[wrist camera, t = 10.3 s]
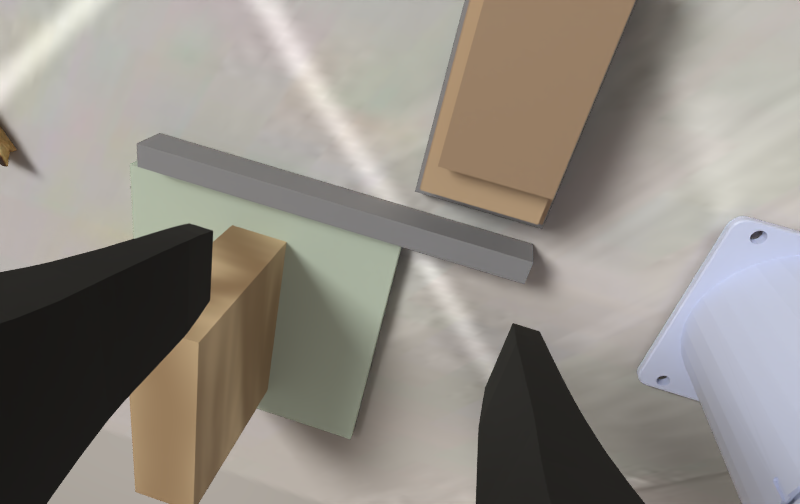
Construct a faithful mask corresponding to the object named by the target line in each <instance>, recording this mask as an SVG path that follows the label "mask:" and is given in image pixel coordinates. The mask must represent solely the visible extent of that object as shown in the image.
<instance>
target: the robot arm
mask: <svg viewBox="0 0 800 504" xmlns="http://www.w3.org/2000/svg"><path fill="white" fill-rule="evenodd" d="M756 231H763V233H762V235H761V236H760V237H759V238H756V239H750V236H751V235H752V234H753V233H754V232H756ZM212 250H213V230H210V229H206V228H203V227H200V226H197V225H193V224H190V223H188V224H183V225H179V226H175V227H172V228H168V229H165V230H161V231H158V232H155V233H151V234H148V235H145V236H141V237H138V238H135V239H132V240H128V241H125V242H122V243H118V244H115V245H112V246H108V247H105V248H102V249H98V250H94V251H90V252H87V253H83V254H79V255H75V256H72V257H68V258H64V259H60V260H56V261H53V262H48V263H44V264H40V265H35V266H30V267H26V268H20V269H15V270H10V271H4V272H0V504H47V502H48V501H49V499H50V498H51V497H52V495H53V494H54V492H55V491H56V490H57V488H58V487H59V485H60V484H61V483H62V481H63V480H64V478H65V477H66V476H67V474H68V473H69V472H70V470H71V469H72V467H73V466H74V465H75V463H76V462H77V460H78V459H79V457H80V456H81V455H82V454H83V452H84V451H85V450H86V448H87V447H88V446H89V444H90V443H91V442H92V440H93V439H94V438H95V436H96V435H97V434H98V432H99V431H100V430H101V429H102V427H103V426H104V425H105V423H106V422H107V421H108V419H109V418H110V417H111V416H112V415H113V414H114V412H115V411H116V410H117V409H118V408H119V407H120V405H121V404H122V403H123V402H124V401H125V400H126V399H127V398H128V397H129V396H130V395H131V393H132V392H133V391H134V390H135V389H136V388H137V387H138V386H139V385H140V384H141V383H142V382H143V381H144V380H145V379H146V378H147V376H148V375H149V374H150V373H151V372H152V371H153V370H154V369H155V368H156V367H157V366H158V365H159V364H160V363H161V362H162V360H163V359H164V358H165V357H166V356H167V355H168V354H169V353H170V352H171V351H172V350H173V349H174V347H175V346H176V345H177V344H178V343H179V342H180V341H181V340H182V339H183V338H184V337H185V335H186V334H187V333H188V332H189V330H190V329H191V328H192V326H193V325H194V323H195V322H196V321H197V319H198V318H199V316H200V315H201V313H202V312H203V310H204V309H205V307H206V306H207V305H208V303H209V302H210V295H211V273H212ZM637 374H638V378H639V380H640V381H641V383H643V384H645V385H648V386H651V387H655V388H658V389H661V390H664V391H667V392H671V393H674V394H677V395H680V396H683V397H687V398H690V399H693V400H696V401H699V402H700V404H701V406H702V409H703V411H704V414H705V416H706V418H707V421H708V423H709V426H710V428H711V430H712V433H713V435H714V438H715V440H716V443H717V445H718V447H719V450H720V452H721V455H722V457H723V460H724V462H725V464H726V467H727V469H728V472H729V474H730V476H731V479H732V481H733V484H734V486H735V489H736V491H737V493H738V496H739V498H740V501H741V503H742V504H800V231H797V230H793V229H790V228H786V227H783V226H779V225H776V224H772V223H769V222H765V221H762V220H758V219H755V218H751V217H746V216H741V217H736V218H734V219H732V220H731V221H730V222H729V223H728V224H727V225H726V227H725V228H724V230H723V231H722V233H721V235H720V236H719V238H718V240H717V241H716V243H715V244H714V246H713V248H712V249H711V251H710V252H709V254H708V256H707V257H706V259H705V261H704V262H703V264H702V265H701V267H700V269H699V270H698V272H697V273H696V275H695V277H694V278H693V280H692V282H691V283H690V285H689V286H688V288H687V290H686V291H685V293H684V294H683V296H682V298H681V299H680V301H679V302H678V304H677V306H676V307H675V309H674V311H673V312H672V314H671V315H670V317H669V319H668V320H667V322H666V323H665V325H664V327H663V328H662V330H661V332H660V333H659V335H658V336H657V338H656V340H655V341H654V343H653V344H652V346H651V348H650V349H649V351H648V352H647V354H646V356H645V357H644V359H643V361H642V362H641V364H640V365H639V367H638V369H637ZM660 376H667V377H666V378H664V379H657V378H658V377H660ZM476 504H645V503H644V502H643V500H642V499H641V498H640V497H639V495H638V494H637V493H636V492H635V490H634V489H633V488H632V487H631V485H630V484H629V483H628V481H627V480H626V479H625V477H624V476H623V475H622V473H621V472H620V471H619V469H618V468H617V466H616V465H615V464H614V462H613V461H612V460H611V458H610V457H609V456H608V454H607V453H606V451H605V450H604V448H603V447H602V445H601V444H600V442H599V441H598V439H597V438H596V436H595V434H594V433H593V431H592V430H591V428H590V426H589V425H588V423H587V422H586V420H585V418H584V417H583V415H582V413H581V412H580V410H579V408H578V406H577V405H576V403H575V401H574V399H573V397H572V395H571V394H570V392H569V390H568V388H567V386H566V384H565V382H564V380H563V378H562V376H561V374H560V372H559V370H558V368H557V366H556V364H555V362H554V360H553V358H552V356H551V354H550V352H549V350H548V348H547V346H546V344H545V342H544V340H543V338H542V336H541V334H540V332H539V331H536V330H533V329H530V328H526V327H523V326H520V325H517V324H514V323H513V324H512V326H511V329H510V331H509V333H508V336H507V338H506V340H505V343H504V345H503V347H502V350H501V352H500V355H499V357H498V359H497V362H496V364H495V366H494V369H493V371H492V373H491V376H490V378H489V380H488V383H487V385H486V387H485V392H484V398H483V404H482V410H481V416H480V423H479V432H478V457H477V486H476Z"/></svg>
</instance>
